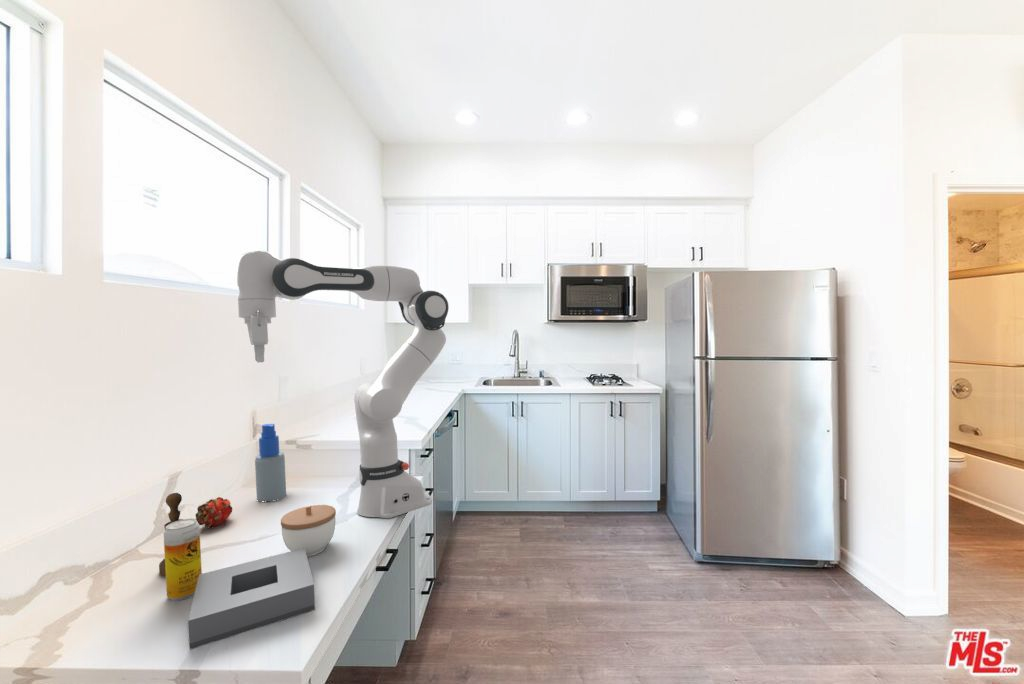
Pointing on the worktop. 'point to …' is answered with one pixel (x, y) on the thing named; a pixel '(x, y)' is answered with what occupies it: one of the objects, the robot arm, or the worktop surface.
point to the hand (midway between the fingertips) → (259, 361)
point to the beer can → (182, 558)
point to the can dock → (250, 596)
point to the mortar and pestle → (173, 503)
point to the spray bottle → (270, 466)
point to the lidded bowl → (309, 528)
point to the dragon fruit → (214, 512)
